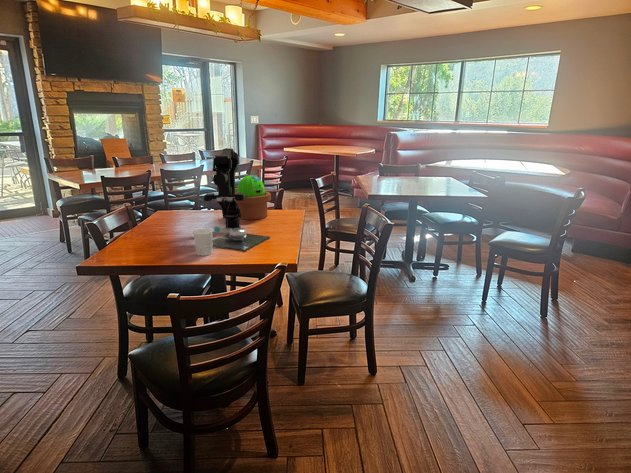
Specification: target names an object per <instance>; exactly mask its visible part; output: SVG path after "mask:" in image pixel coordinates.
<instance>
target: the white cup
mask: <svg viewBox="0 0 631 473" xmlns="http://www.w3.org/2000/svg"><path fill="white" fill-rule="evenodd" d="M213 237H214V236H213V229H209V228H201V229H196V230H194V231H193V239H194V245H195V249H196V250H195V251H196V255H197V256H200V255H201V257H204V256H205V257H206V256H209V255H212V254H213V252H214V250H213V249H214V247H213V240H214V238H213Z"/></svg>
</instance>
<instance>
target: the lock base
mask: <svg viewBox="0 0 631 473" xmlns="http://www.w3.org/2000/svg"><path fill="white" fill-rule="evenodd" d="M269 239H271V236H268V235H263V234H262V235H260V234H252V233H247V236H246V237H244V238H239V239H234V238H230V235H229V233H225V234H224V235H222V236H216V238H215V239H213V247H212V248H220V249H226V250H230V251H231V250H234V251H239V252H247V251H249V250H250V249H253V248H255V247H257V246H259V245H260V244H262V243H265V241H268V240H269Z"/></svg>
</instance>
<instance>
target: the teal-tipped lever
mask: <svg viewBox="0 0 631 473" xmlns="http://www.w3.org/2000/svg"><path fill="white" fill-rule="evenodd" d="M213 232H214V233H222V234H228V233H229V235H230V238H234V239H239V238H244V237H246V236H247V234H248V232H247V228H245V227H241V228H233V229H231V228H226V227H224V226H218V225H217V226H214V227H213Z"/></svg>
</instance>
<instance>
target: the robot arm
mask: <svg viewBox="0 0 631 473" xmlns="http://www.w3.org/2000/svg"><path fill="white" fill-rule="evenodd" d="M212 160H213V161H212V172H215V174H214V175H213V177H212V181H213V184H215V185H216V186H217V187H216V191H217V194H215V193H214V192H207V193H205V194H204V196H203V201H204V202H211V201H212V200H216V203H217V204H219V206H220V207H221V213H222V218H223V219H224V220H225V228H231V229H233V228H242V226H240V220H239V219H240V217H241V212H240V209H239V207H238V204H237V202H236V201H235V199H236V200H237V201H243V200H244V199H245V194H244V193H236V173H237V171H238V170H239V165H240V156H239V154H238V152H235V150H234V149H233V148H232V147H231V148H223V149H222V152H221V153H220V154H217V155H215V156H214V158H213V159H212ZM235 193H236V194H235ZM237 214H238V215H237Z"/></svg>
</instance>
